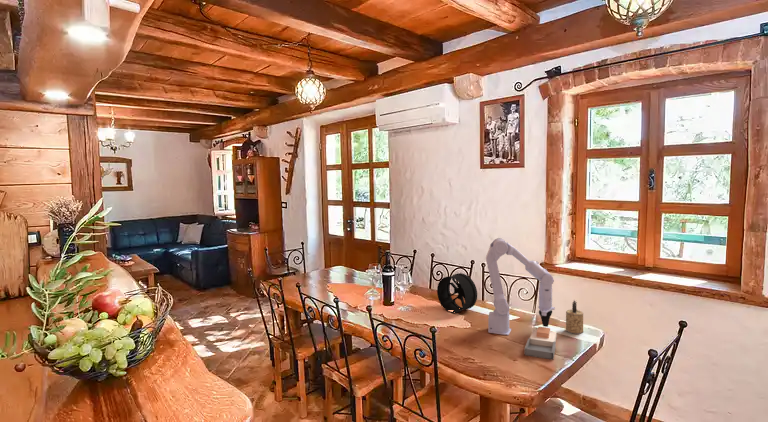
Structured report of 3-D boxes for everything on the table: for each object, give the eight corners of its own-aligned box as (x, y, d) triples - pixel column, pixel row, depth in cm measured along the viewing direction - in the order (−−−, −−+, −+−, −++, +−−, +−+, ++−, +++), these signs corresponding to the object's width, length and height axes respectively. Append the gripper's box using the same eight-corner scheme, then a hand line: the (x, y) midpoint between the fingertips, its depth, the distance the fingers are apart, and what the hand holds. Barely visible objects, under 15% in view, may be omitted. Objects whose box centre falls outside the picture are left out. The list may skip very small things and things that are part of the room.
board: (529, 344, 179) (529, 338, 179) (533, 334, 190) (533, 329, 189) (554, 347, 175) (554, 342, 174) (556, 337, 185) (556, 332, 185)
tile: (536, 336, 181) (536, 332, 181) (538, 330, 187) (538, 326, 187) (548, 338, 179) (548, 333, 178) (550, 332, 185) (550, 328, 185)
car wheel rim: (477, 312, 221) (477, 276, 219) (465, 317, 215) (465, 280, 213) (449, 304, 236) (448, 270, 235) (437, 308, 230) (436, 273, 228)
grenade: (585, 334, 187) (585, 302, 186) (568, 333, 189) (568, 302, 188) (580, 328, 195) (580, 297, 193) (564, 327, 196) (564, 297, 195)
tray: (524, 355, 169) (524, 348, 168) (528, 343, 179) (528, 337, 179) (553, 359, 164) (553, 353, 163) (555, 347, 174) (555, 341, 174)
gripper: (553, 303, 181) (553, 332, 182) (556, 294, 194) (556, 321, 195) (536, 301, 184) (536, 330, 186) (540, 292, 197) (540, 319, 199)
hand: (545, 326), depth 191 cm, fingers closed
